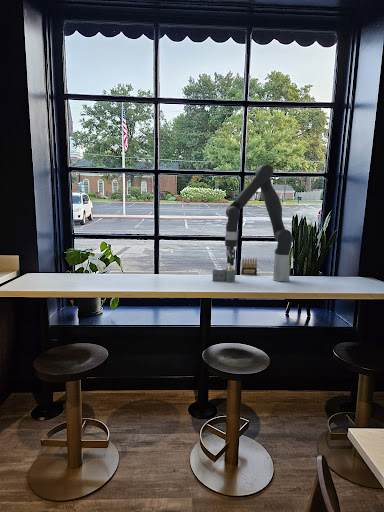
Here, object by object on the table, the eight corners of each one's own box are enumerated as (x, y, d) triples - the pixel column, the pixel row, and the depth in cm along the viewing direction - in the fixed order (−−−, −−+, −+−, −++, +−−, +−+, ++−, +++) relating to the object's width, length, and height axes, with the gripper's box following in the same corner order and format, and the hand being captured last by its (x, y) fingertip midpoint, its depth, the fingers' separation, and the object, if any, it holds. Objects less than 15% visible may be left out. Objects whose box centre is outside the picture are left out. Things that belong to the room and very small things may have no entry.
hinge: (230, 277, 232) (231, 266, 231) (236, 281, 218) (236, 270, 217) (209, 277, 231) (210, 266, 230) (213, 281, 217) (213, 270, 216)
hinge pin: (231, 280, 223) (231, 266, 222) (232, 281, 220) (232, 267, 219) (226, 280, 223) (227, 266, 221) (227, 281, 220) (228, 267, 218)
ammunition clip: (256, 274, 243) (257, 257, 241) (256, 275, 241) (257, 258, 239) (241, 274, 243) (241, 257, 241) (241, 274, 241) (242, 257, 239)
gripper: (239, 240, 211) (238, 266, 213) (234, 237, 225) (233, 262, 227) (227, 239, 210) (226, 266, 212) (223, 237, 224) (222, 262, 226)
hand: (230, 264), depth 220 cm, fingers open, 8 cm apart
